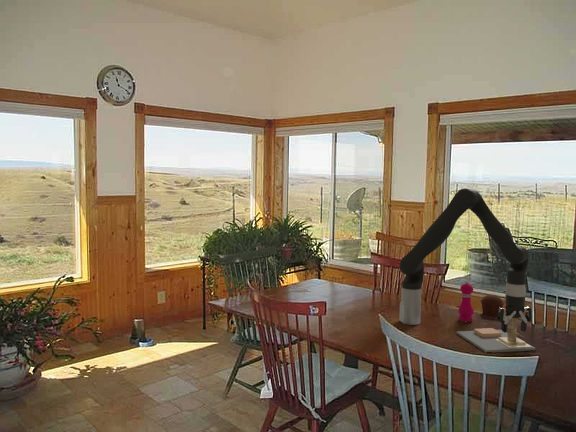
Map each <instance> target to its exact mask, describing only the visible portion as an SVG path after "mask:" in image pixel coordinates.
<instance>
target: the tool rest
mask: <svg viewBox="0 0 576 432" xmlns="http://www.w3.org/2000/svg"><path fill="white" fill-rule="evenodd" d="M495 340H496V341H498V342H500V343H501V344H503V345H505V346H506V347H508V348H525V347H532V346H533V345H531V344H529V343H527V344H526V345H507V344H505V343H503V342H501V341H500V340H498V339H495ZM528 344H529V345H528ZM530 345H531V346H530Z"/></svg>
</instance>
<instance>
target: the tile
mask: <svg viewBox="0 0 576 432" xmlns="http://www.w3.org/2000/svg"><path fill="white" fill-rule="evenodd" d="M497 330H498V329H495V328H493V327H488V328H487V327H484V328H483V327H482V328H474V329H473V331H474V333H476V334H477V335H479V336H481V337H501V332H499V331H497Z"/></svg>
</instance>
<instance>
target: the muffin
mask: <svg viewBox="0 0 576 432" xmlns="http://www.w3.org/2000/svg"><path fill="white" fill-rule="evenodd" d="M480 303H481V310H482V314H483V315H485V316H487V317H496V318H497V315H498V308H499V307H500V308H504V307H503V306H504V305H505V301H503V299H502V298H501V296H498V295H496V294H486V295H484V296H483V297H482V298H481V300H480Z"/></svg>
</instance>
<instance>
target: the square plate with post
mask: <svg viewBox="0 0 576 432" xmlns="http://www.w3.org/2000/svg"><path fill="white" fill-rule="evenodd" d="M517 328H518V318H511V320H509V321H508V322H507V333H508V337H498V340H500V341H501V342H503V343H505V344H507V345H526V343H527V342H526V341H524V340H522V339H520V338H519V337H517V334H518V333H517V331H518V329H517Z"/></svg>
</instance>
